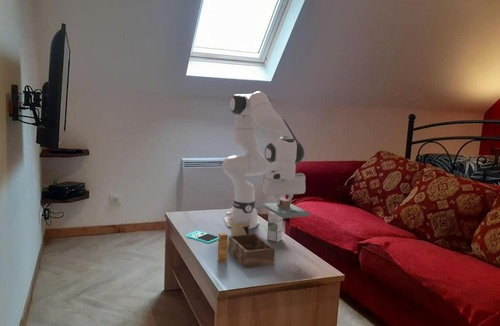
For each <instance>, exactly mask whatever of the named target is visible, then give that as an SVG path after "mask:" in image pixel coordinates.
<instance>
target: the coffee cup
mask: <svg viewBox="0 0 500 326" xmlns="http://www.w3.org/2000/svg"><path fill="white" fill-rule="evenodd" d="M249 226H250V218H249V217H246V216H234V217H232V219H231V227H230V228H231V229H230V230H231V231H230V232H231V236H236V235H246V234H250V233H249V232H250V229H249Z"/></svg>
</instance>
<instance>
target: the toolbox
mask: <svg viewBox="0 0 500 326" xmlns="http://www.w3.org/2000/svg"><path fill="white" fill-rule="evenodd" d="M275 250H276V248H274V247H273V246H272V245H271V244H270V243H269V242H267V241H266V240H264V239H263V238H262V237H261V236H259V235H258V234H256V233H249V234H246V235H236V236H232V235H228V244H227V252H229V254H230V255H231V256H232V257H233V258H234V259H236V260H237V262H238V263H239V264H240V265H241V266H242V267H243V268H244V269H254V268H259V267H260V268H261V267H267V266H273V265H275V252H276V251H275Z"/></svg>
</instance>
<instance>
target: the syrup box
mask: <svg viewBox="0 0 500 326" xmlns="http://www.w3.org/2000/svg"><path fill="white" fill-rule="evenodd" d="M267 216H268V217H267V218H268V219H267V234H266V235H267V236H266V239H267V241H270V242H274V243H278V242H280V241H281V240H282V239H283V226H284V225H283V224H284V223H283V222H284V218H282V217H280V216H278V215H276V214H275V213H273V212H271V211H270V210H269V211H268V214H267Z"/></svg>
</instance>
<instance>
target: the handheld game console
mask: <svg viewBox="0 0 500 326" xmlns="http://www.w3.org/2000/svg"><path fill="white" fill-rule="evenodd" d="M186 238H189V239H191V240H195V241H199V242H201V243H204V244H211V243H214V242H215V241H216V242H217V241H218V235H215V234H211V233H207V232H204V231H201V230H195V231H193V232H189V233H188V234H186Z"/></svg>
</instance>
